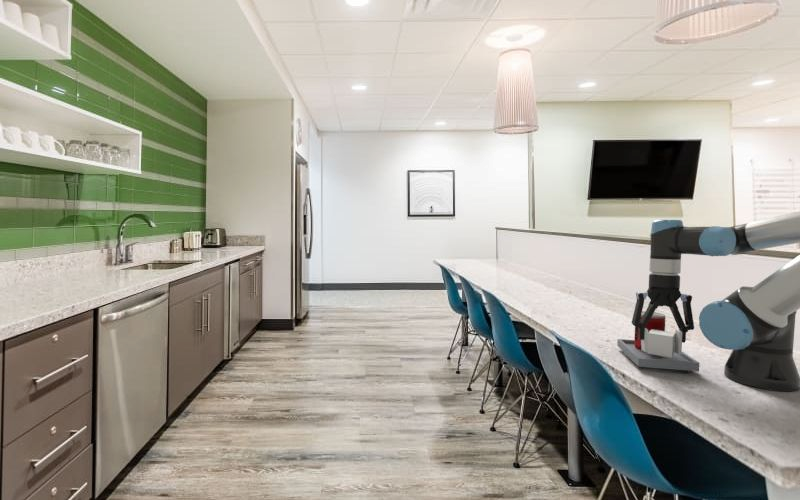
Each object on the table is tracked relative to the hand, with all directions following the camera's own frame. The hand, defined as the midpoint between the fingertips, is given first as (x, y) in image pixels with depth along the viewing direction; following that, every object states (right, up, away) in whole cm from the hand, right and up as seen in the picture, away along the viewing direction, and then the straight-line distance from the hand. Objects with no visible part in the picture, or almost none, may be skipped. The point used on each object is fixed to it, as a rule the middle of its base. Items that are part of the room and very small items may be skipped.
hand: (660, 351), depth 119 cm
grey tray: (+1, -4, +5) cm, 6 cm away
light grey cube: (0, -1, 0) cm, 1 cm away
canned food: (+2, -1, +9) cm, 10 cm away
